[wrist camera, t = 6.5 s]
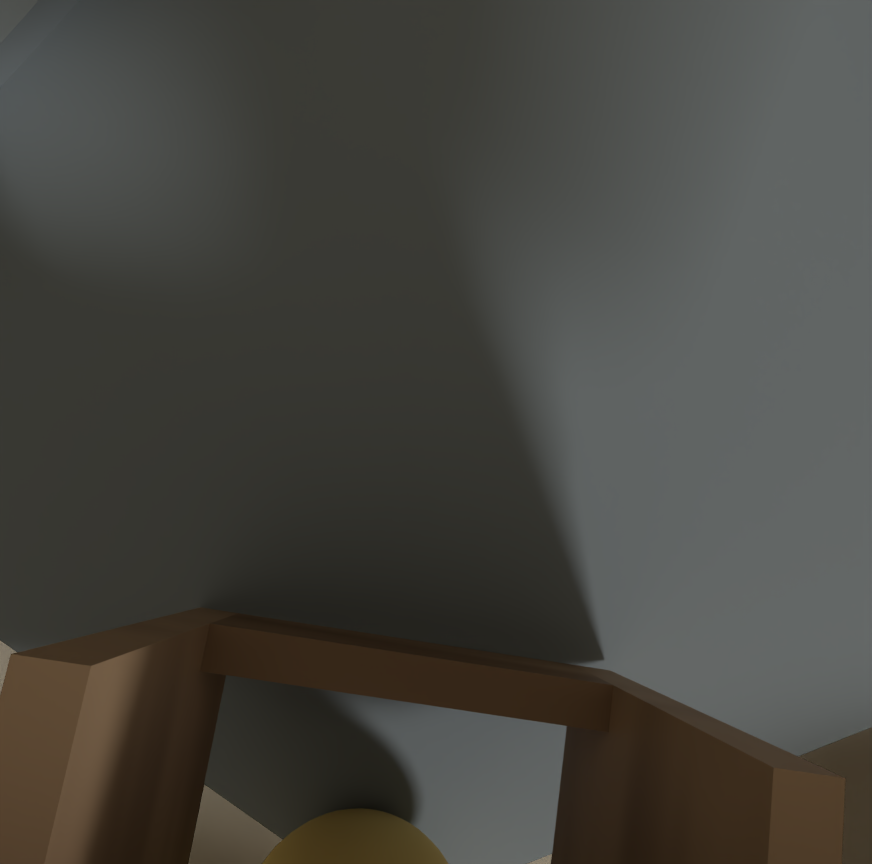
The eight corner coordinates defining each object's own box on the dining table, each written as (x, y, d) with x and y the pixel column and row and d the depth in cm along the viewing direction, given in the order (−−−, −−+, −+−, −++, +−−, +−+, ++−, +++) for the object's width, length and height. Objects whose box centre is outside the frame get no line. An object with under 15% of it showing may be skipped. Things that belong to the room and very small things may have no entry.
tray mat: (393, 897, 16) (389, 958, 15) (-339, 368, 10) (-431, 410, 9) (1211, 565, 11) (1289, 622, 10) (748, -916, 5) (826, -1164, 4)
